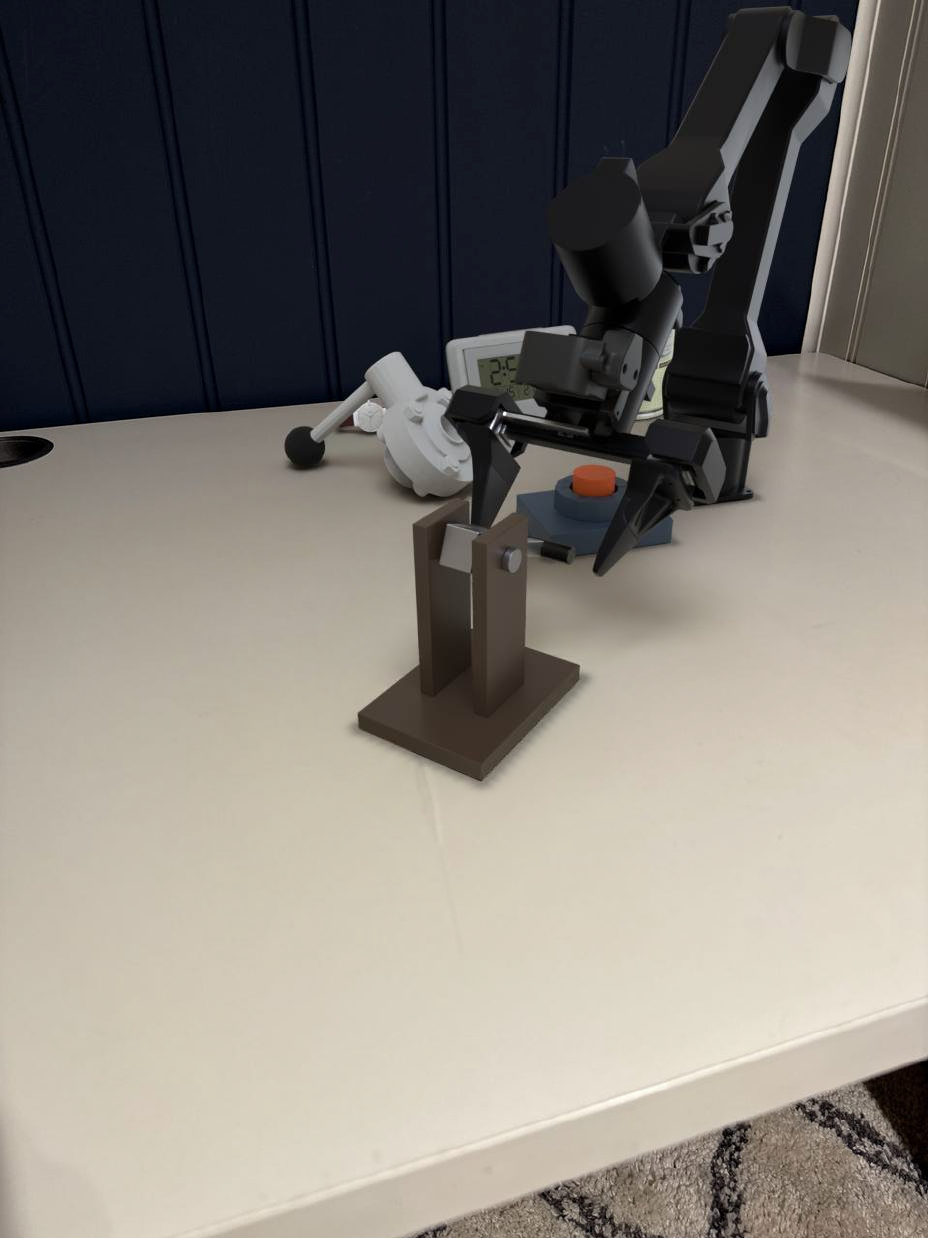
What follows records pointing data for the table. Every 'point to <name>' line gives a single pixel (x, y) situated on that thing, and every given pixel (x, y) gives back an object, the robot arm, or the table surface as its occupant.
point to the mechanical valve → (399, 431)
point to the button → (594, 480)
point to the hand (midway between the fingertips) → (533, 556)
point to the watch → (366, 417)
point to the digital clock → (495, 364)
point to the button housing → (579, 517)
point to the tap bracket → (470, 653)
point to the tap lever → (461, 535)
